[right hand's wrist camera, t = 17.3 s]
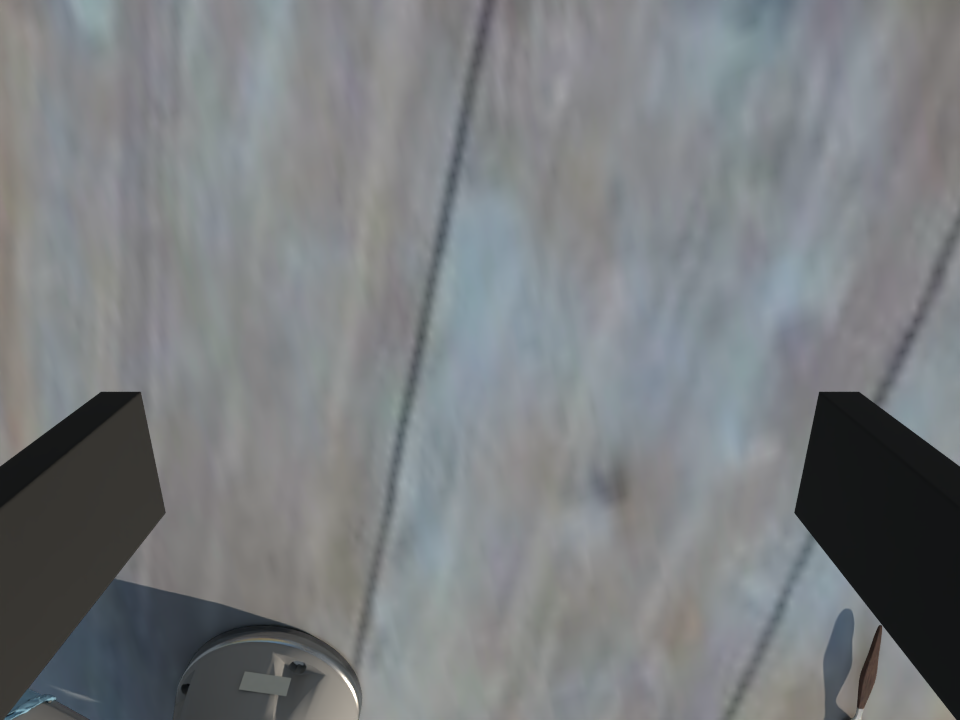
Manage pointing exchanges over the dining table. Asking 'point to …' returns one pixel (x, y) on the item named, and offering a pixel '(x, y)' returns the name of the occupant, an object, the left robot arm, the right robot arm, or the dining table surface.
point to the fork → (868, 674)
